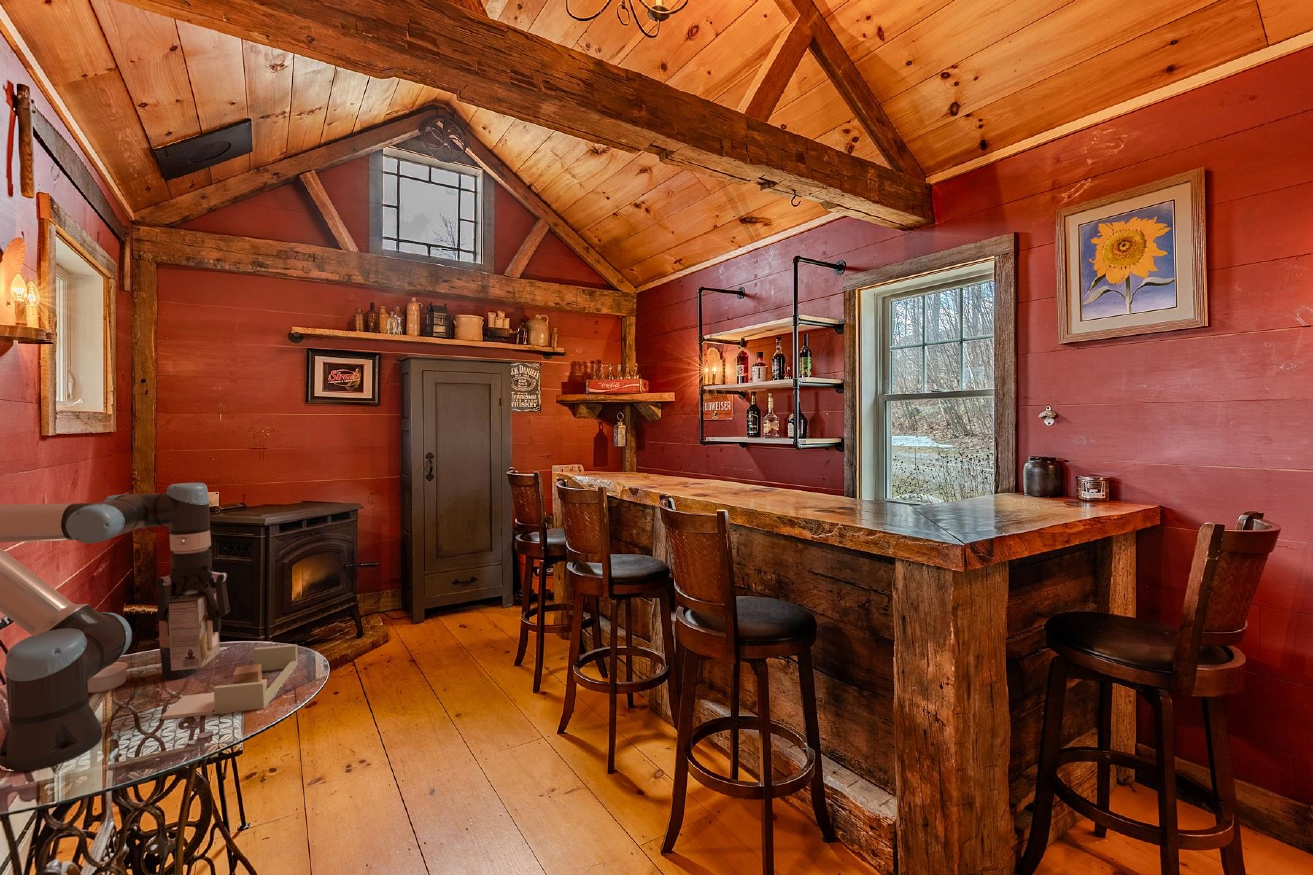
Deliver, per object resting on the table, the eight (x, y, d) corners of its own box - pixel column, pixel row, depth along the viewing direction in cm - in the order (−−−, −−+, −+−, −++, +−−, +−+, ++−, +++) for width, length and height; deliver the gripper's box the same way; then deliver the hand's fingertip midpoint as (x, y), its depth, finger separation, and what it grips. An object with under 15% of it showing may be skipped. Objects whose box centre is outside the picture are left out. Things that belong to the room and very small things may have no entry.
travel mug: (203, 672, 162) (200, 597, 161) (168, 683, 156) (164, 606, 155) (190, 665, 166) (187, 593, 165) (156, 676, 160) (152, 600, 159)
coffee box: (190, 655, 147) (187, 589, 146) (220, 652, 149) (217, 587, 148) (169, 671, 138) (166, 601, 137) (202, 668, 140) (199, 599, 139)
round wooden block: (131, 685, 155) (130, 668, 155) (84, 698, 148) (83, 680, 148) (124, 675, 161) (123, 659, 161) (78, 687, 154) (77, 670, 154)
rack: (214, 713, 140) (213, 688, 140) (256, 669, 164) (255, 647, 163) (263, 708, 143) (262, 683, 142) (297, 665, 166) (296, 644, 166)
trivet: (161, 719, 138) (161, 716, 138) (184, 698, 148) (183, 695, 148) (212, 714, 140) (212, 710, 140) (231, 694, 150) (231, 690, 150)
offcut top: (233, 691, 143) (232, 674, 143) (237, 683, 147) (236, 667, 147) (258, 687, 145) (258, 671, 145) (261, 679, 149) (261, 663, 149)
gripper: (132, 556, 136) (137, 658, 137) (231, 551, 141) (235, 649, 142) (151, 548, 143) (156, 645, 145) (245, 543, 148) (249, 637, 149)
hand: (195, 647), depth 143 cm, fingers closed on coffee box, 6 cm apart
